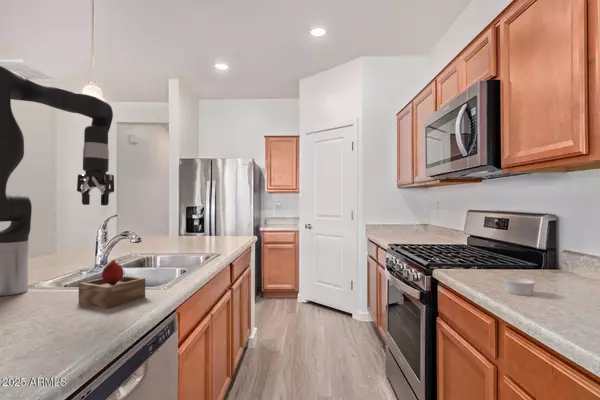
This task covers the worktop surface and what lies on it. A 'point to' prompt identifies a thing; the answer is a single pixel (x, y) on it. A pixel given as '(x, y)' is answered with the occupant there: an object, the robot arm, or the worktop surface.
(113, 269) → the onion
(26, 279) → the robot arm
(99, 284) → the wooden box
